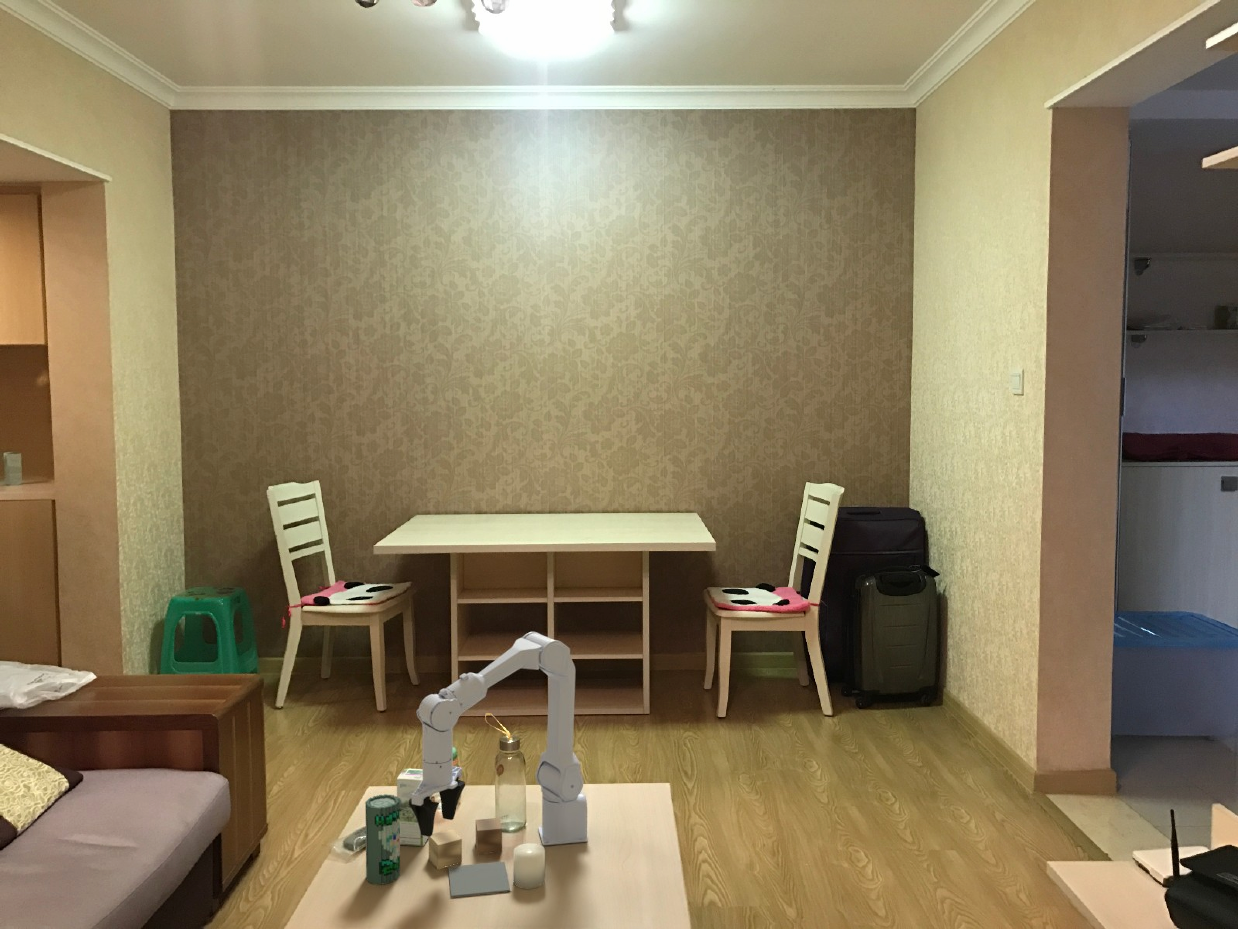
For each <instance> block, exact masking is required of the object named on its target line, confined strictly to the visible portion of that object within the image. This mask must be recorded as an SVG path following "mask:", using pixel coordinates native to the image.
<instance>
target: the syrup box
mask: <svg viewBox="0 0 1238 929" xmlns="http://www.w3.org/2000/svg"><path fill="white" fill-rule="evenodd" d="M422 780H423V768H422V769H421V768H404V769H403V770H402V771H401V772H400V774H398V777H397V778H396V796H397V798H398V799H399V801H400V846H410V847H411V846H412V847H424V845H425V844H426V843H427V841H428V840H429V837H428V836H424V835H421V832H420V828H419V825H418V821H417V818H416V816H415V814H414V812H413V810H412V809H411V807H410V806H409V799H411V798H412V794H413V793H414V792H415V791H416V789H417V788H418V786H419V784H420V783H421V781H422ZM431 797H432V796H430V800H432V798H431ZM427 839H428V840H427ZM425 842H426V843H425Z"/></svg>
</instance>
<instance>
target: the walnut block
mask: <svg viewBox="0 0 1238 929" xmlns="http://www.w3.org/2000/svg"><path fill="white" fill-rule="evenodd" d="M502 826H503V825H502V823H501V818H500V817H493V818H483V819H482V818H481V819H475V847H476V853H477V855H480V854H481V855H482V854H491V853H490V852H492V853H493V852H494V853H503V827H502ZM494 853H493V854H494Z"/></svg>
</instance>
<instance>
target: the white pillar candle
mask: <svg viewBox="0 0 1238 929" xmlns="http://www.w3.org/2000/svg"><path fill="white" fill-rule="evenodd" d="M545 870H546V849H545V847H544V845H541V844H538V843H530V842H527V843H522V844H519V845H517V846H515V848H514V849H513V881H514V882H513V884H514V883H515V884H516V885H517V886H516V885H515V884H514V885H515V886H516V887H518V886H519V887H518V888H520V887H522V888H521V889H525V888H528V889H529V890H530V889H537V888H539V887H541V886H543V884H544V883H545V880H546V877H545V876H546V874H545ZM538 886H539V887H538ZM528 889H527V890H528Z"/></svg>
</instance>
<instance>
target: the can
mask: <svg viewBox="0 0 1238 929" xmlns="http://www.w3.org/2000/svg"><path fill="white" fill-rule="evenodd" d="M365 870H366V871H365V880H366V881H367V882H368V883H370V884H373V885H379V886H381V885H387V884H390V883H393V882H394V881H395V882H396V881H397V880H398V879H399V877H400V876H401V845H400V801H399V799H398V798H397V795H393V794H386V793H385V794H378V795H373V796H372V797H369V798H368V799H367V800H366V801H365Z"/></svg>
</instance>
